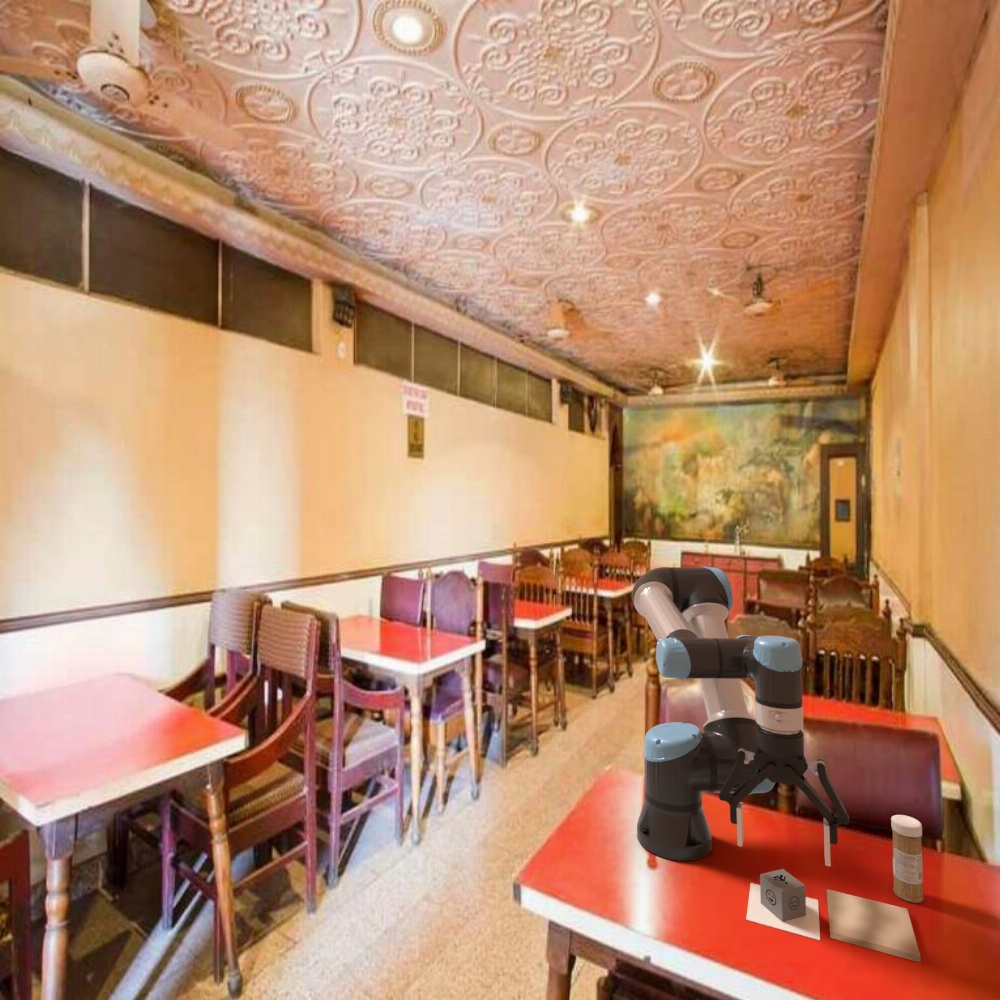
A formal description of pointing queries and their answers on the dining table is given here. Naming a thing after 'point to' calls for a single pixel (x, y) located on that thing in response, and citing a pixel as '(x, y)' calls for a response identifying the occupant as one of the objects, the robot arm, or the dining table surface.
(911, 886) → the sprinkles bottle
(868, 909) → the birch coaster
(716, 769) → the robot arm
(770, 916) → the white tile
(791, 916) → the dice cube
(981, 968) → the dining table surface
